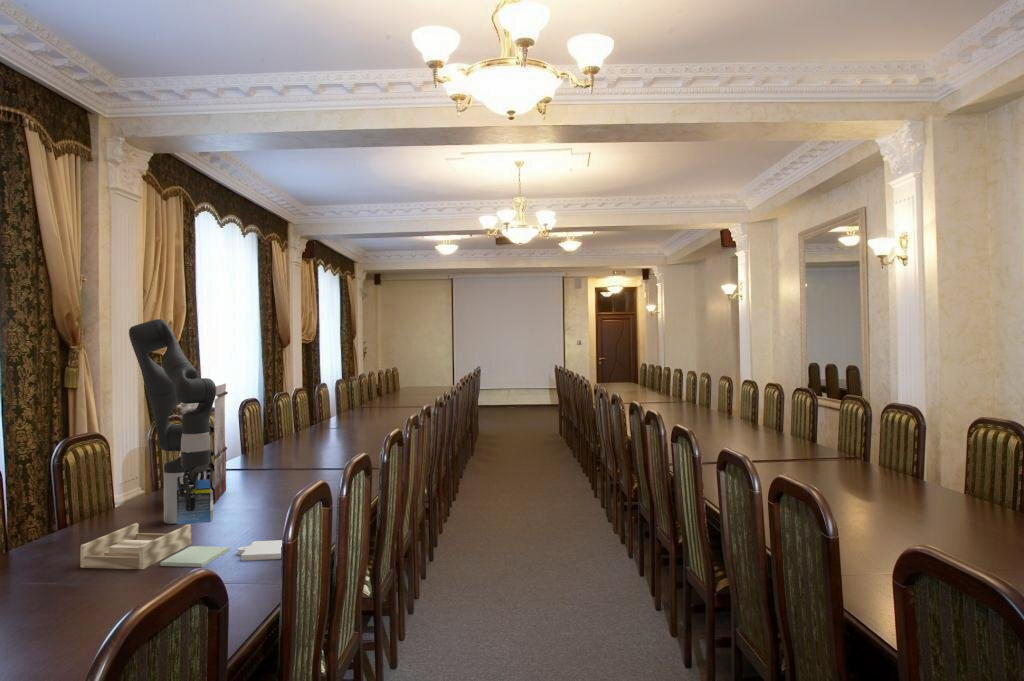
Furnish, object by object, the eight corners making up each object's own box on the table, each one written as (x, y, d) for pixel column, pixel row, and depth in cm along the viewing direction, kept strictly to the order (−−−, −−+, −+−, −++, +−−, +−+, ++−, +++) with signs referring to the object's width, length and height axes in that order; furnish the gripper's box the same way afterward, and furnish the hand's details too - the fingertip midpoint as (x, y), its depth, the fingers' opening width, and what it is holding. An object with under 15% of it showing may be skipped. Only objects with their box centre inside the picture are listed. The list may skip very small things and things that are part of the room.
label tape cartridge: (213, 519, 184) (213, 476, 184) (210, 522, 180) (210, 479, 180) (180, 521, 182) (180, 477, 182) (176, 524, 178) (176, 480, 178)
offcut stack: (120, 555, 185) (120, 539, 185) (160, 556, 184) (160, 540, 184) (103, 563, 178) (103, 547, 178) (144, 564, 177) (144, 548, 177)
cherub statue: (178, 494, 261) (178, 384, 261) (227, 491, 266) (227, 383, 266) (164, 507, 239) (164, 387, 239) (218, 503, 244) (218, 386, 244)
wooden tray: (135, 542, 195) (135, 523, 195) (191, 544, 194) (191, 524, 194) (80, 567, 173) (80, 545, 173) (142, 569, 172) (142, 547, 172)
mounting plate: (231, 562, 178) (231, 555, 178) (244, 548, 191) (244, 541, 191) (298, 559, 181) (298, 552, 181) (306, 545, 193) (306, 539, 193)
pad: (190, 549, 188) (190, 546, 188) (229, 550, 187) (229, 547, 187) (160, 565, 174) (160, 562, 174) (202, 566, 173) (202, 563, 173)
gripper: (197, 444, 189) (197, 502, 189) (167, 452, 174) (167, 514, 174) (222, 444, 188) (221, 502, 188) (193, 452, 174) (193, 515, 174)
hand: (195, 508), depth 181 cm, fingers closed on label tape cartridge, 4 cm apart
